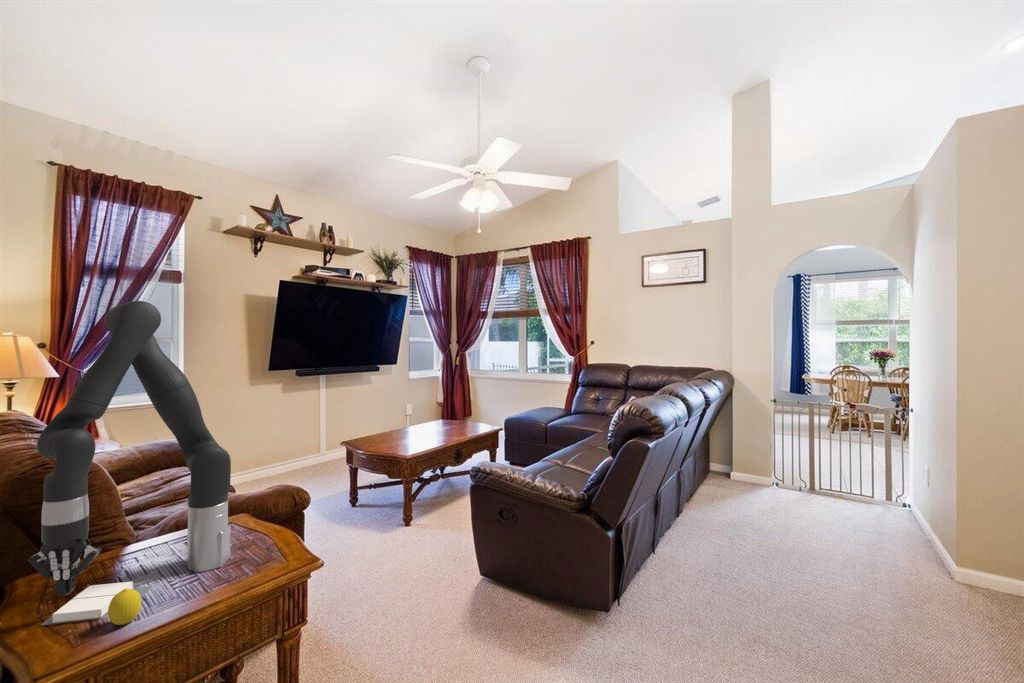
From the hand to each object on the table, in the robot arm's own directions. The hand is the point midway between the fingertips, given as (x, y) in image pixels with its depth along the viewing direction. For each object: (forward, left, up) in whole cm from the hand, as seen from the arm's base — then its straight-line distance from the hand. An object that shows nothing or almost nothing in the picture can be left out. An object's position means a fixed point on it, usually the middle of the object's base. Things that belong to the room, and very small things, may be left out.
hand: (65, 594), depth 100 cm
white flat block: (+1, -6, -4) cm, 7 cm away
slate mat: (-5, -3, -5) cm, 8 cm away
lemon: (-14, +6, -6) cm, 16 cm away
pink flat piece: (+1, 0, -4) cm, 4 cm away
